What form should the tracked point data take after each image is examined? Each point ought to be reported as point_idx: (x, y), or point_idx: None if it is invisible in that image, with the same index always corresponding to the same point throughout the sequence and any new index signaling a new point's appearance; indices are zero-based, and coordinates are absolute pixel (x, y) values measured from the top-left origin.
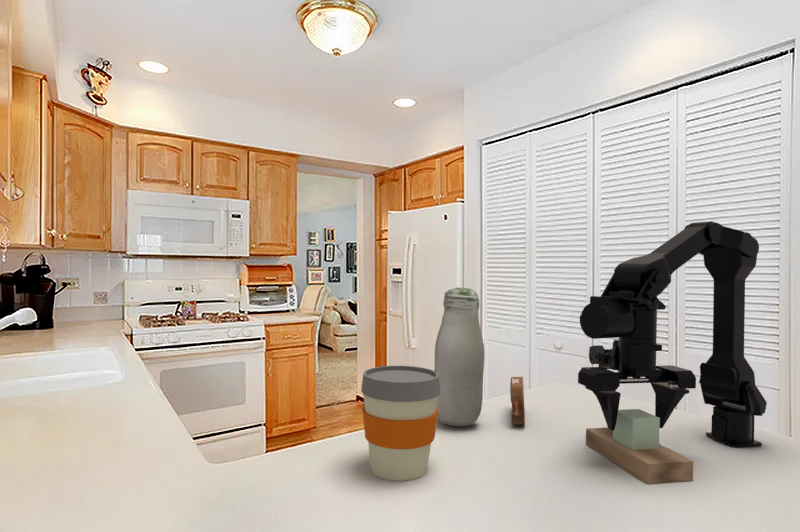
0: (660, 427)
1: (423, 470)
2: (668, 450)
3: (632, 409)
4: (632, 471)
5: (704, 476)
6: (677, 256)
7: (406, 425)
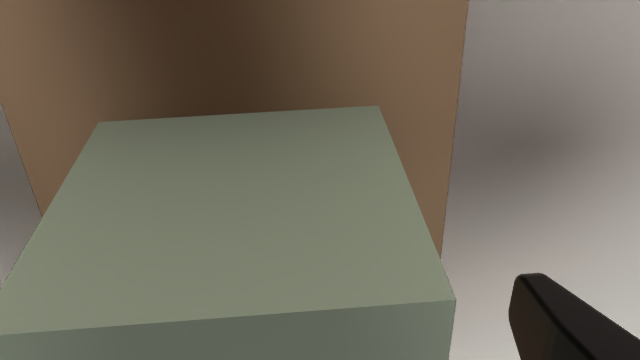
0: (510, 322)
1: None
2: None
3: (325, 321)
4: None
5: (499, 325)
6: None
7: None
